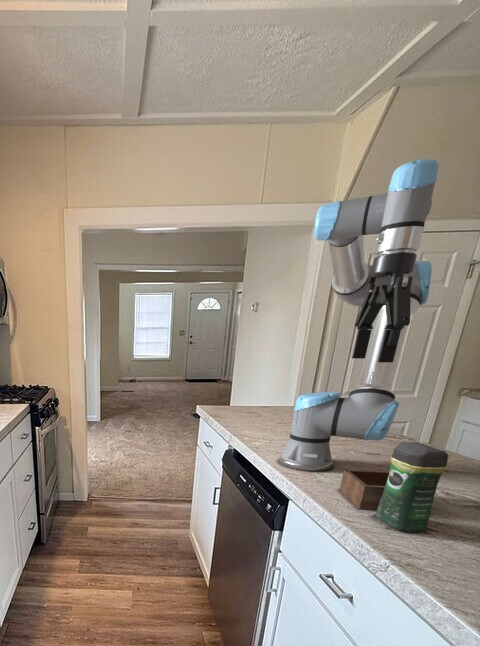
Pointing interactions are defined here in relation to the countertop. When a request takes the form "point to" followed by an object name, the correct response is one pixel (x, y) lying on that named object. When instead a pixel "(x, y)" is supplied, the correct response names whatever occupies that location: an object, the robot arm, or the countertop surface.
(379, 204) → the robot arm
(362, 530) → the countertop surface
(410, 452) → the coffee jar
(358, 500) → the holder
